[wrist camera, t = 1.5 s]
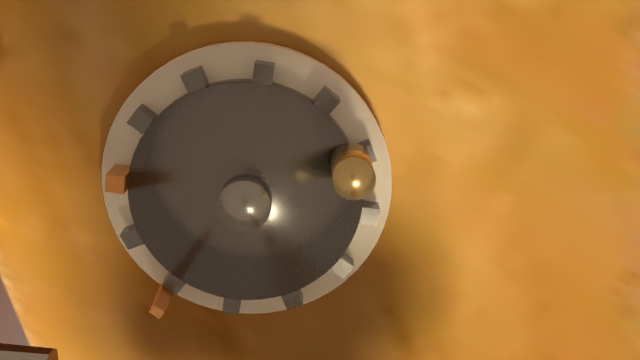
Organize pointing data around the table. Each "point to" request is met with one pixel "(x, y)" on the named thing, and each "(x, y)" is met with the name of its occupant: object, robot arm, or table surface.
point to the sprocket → (246, 188)
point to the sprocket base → (239, 64)
